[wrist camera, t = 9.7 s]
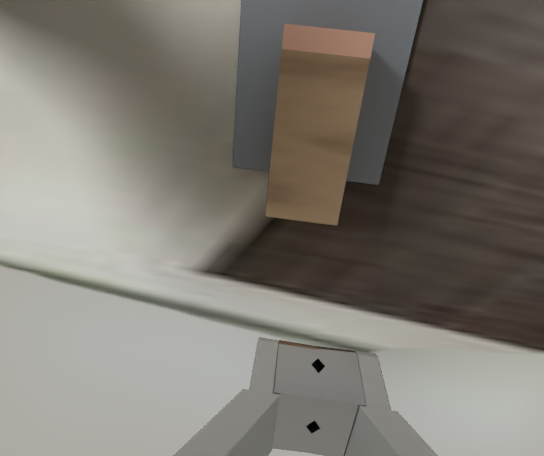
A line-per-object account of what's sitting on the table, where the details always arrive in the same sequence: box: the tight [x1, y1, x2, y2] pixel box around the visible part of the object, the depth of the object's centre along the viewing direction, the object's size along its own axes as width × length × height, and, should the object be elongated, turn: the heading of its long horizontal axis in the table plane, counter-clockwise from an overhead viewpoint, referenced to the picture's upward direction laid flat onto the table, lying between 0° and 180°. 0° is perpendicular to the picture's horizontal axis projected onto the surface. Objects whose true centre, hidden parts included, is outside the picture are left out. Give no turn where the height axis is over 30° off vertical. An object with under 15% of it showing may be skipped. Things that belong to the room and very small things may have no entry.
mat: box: [233, 0, 423, 185], centre depth 31 cm, size 16×14×1 cm
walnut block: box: [265, 24, 375, 226], centre depth 29 cm, size 6×6×14 cm
